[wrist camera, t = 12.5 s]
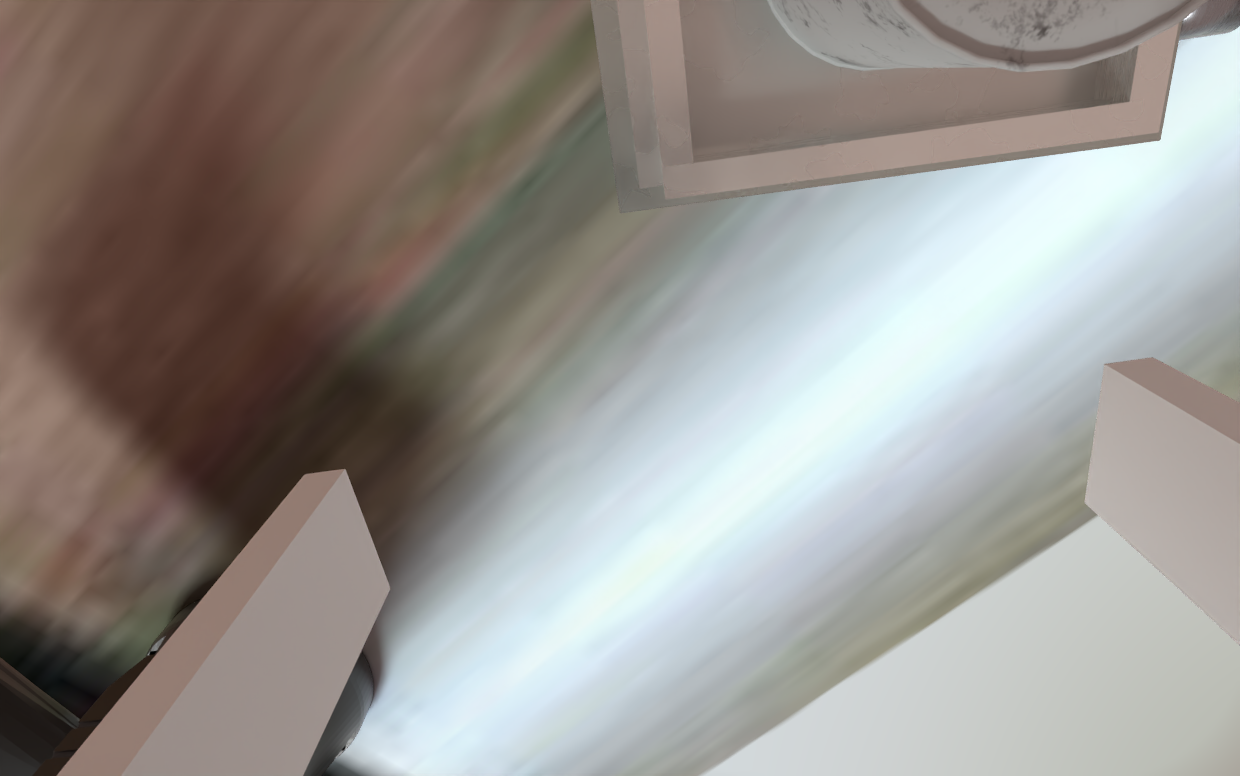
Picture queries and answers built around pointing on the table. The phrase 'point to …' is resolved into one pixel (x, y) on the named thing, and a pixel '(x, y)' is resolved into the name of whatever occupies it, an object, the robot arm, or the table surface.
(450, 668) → the table surface
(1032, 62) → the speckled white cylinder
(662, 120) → the gearbox
